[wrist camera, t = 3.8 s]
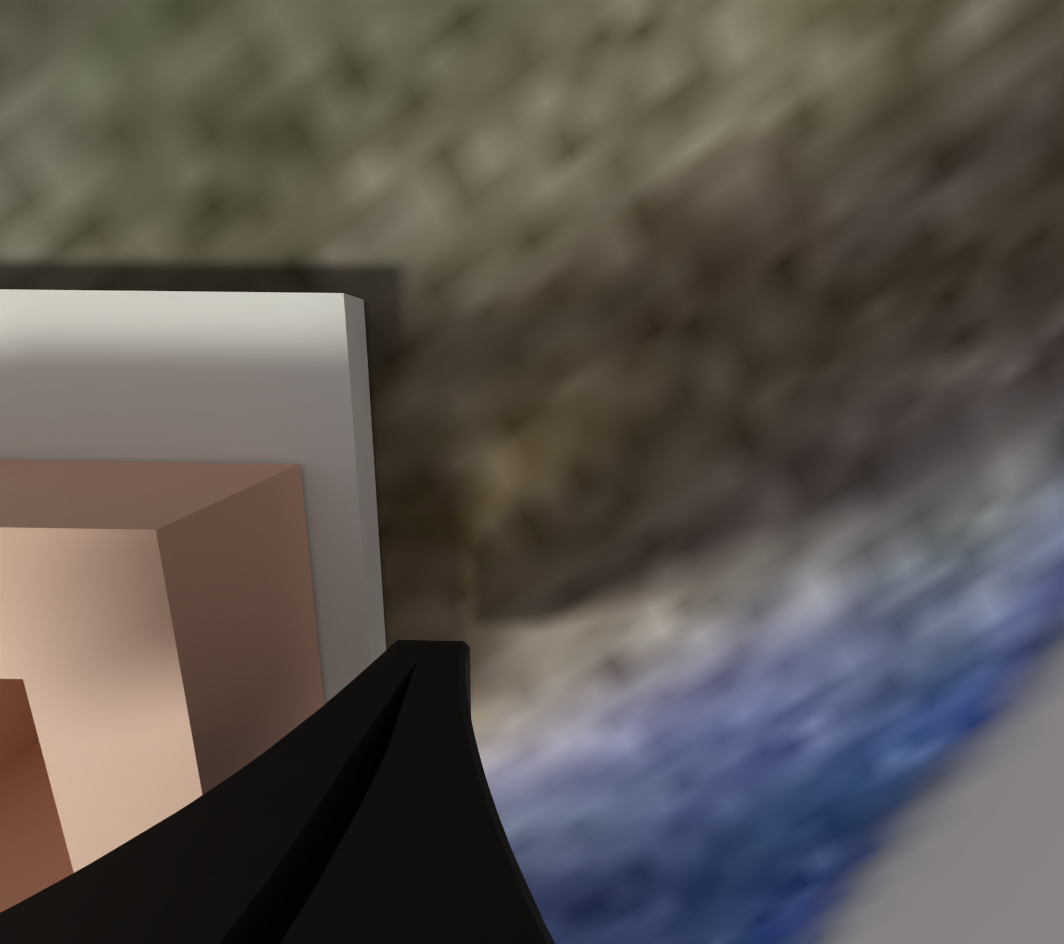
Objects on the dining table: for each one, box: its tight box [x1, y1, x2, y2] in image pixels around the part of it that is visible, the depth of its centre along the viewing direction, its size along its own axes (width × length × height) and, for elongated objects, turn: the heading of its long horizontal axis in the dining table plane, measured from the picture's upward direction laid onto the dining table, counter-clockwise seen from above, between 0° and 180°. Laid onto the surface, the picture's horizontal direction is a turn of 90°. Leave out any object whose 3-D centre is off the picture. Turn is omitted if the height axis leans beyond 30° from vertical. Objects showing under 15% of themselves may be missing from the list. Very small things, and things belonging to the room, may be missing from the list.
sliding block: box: [0, 460, 324, 912], centre depth 8 cm, size 8×8×4 cm
